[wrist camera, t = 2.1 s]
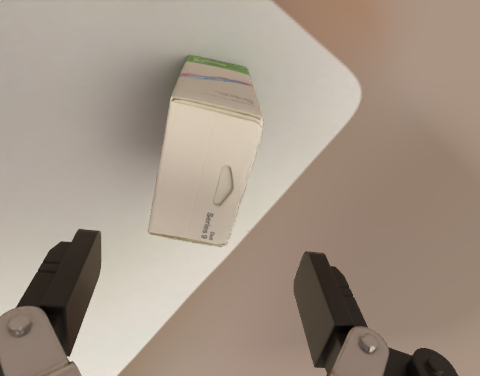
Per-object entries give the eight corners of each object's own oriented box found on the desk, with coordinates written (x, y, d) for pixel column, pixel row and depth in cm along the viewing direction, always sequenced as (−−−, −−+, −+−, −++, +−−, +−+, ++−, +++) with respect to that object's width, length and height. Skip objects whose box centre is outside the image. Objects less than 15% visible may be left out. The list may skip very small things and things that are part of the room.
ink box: (225, 163, 31) (233, 252, 21) (166, 152, 30) (146, 240, 20) (249, 66, 27) (274, 119, 17) (183, 50, 26) (167, 96, 16)
